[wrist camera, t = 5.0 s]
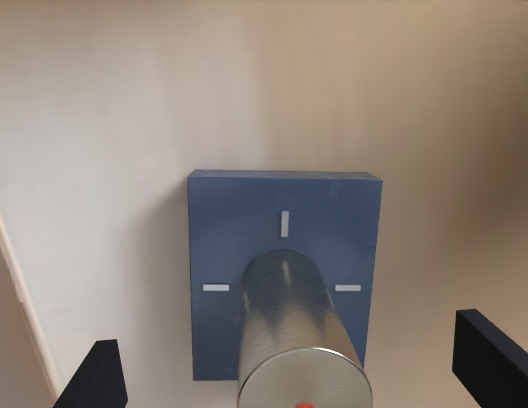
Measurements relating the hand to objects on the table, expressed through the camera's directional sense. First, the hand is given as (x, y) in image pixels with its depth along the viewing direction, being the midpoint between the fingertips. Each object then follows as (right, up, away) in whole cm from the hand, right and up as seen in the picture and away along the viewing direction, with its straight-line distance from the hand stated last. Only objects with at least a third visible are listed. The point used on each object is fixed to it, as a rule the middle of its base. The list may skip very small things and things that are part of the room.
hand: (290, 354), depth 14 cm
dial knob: (0, +1, +6) cm, 6 cm away
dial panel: (0, +2, +8) cm, 9 cm away
